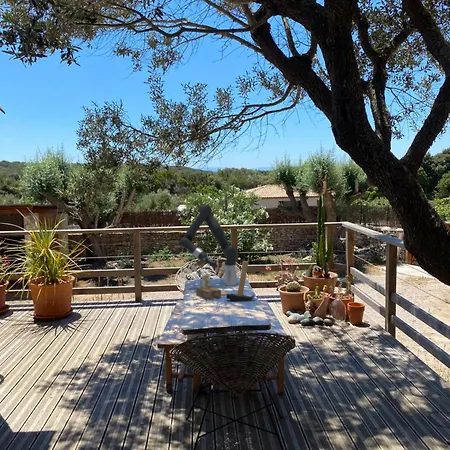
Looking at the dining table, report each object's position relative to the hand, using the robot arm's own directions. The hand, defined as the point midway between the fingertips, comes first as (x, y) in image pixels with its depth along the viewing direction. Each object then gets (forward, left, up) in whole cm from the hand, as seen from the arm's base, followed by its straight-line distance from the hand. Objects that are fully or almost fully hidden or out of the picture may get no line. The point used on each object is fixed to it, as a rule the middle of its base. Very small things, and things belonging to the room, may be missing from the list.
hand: (215, 266), depth 339 cm
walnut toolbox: (+11, +9, -21) cm, 25 cm away
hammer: (-3, +33, -21) cm, 39 cm away
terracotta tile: (-1, +7, -21) cm, 22 cm away
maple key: (+11, +5, -21) cm, 24 cm away
